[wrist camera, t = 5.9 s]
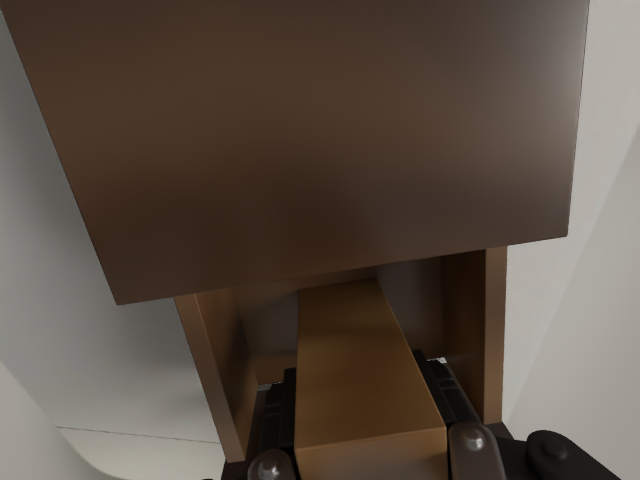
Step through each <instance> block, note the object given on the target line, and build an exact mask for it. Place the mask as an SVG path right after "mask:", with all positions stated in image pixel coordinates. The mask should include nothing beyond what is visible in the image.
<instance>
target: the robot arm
mask: <svg viewBox="0 0 640 480" xmlns="http://www.w3.org/2000/svg"><path fill="white" fill-rule="evenodd" d="M411 352H412V354H413V357H414V359H415V361H416V363H417V365H418V367H419V370H420V372H421V374H422V376H423V378H424V380H425V383H426V385H427V387H428V389H429V391H430V393H431V396H432V398H433V400H434V402H435V404H436V406H437V409H438V411H439V413H440V415H441V417H442V419H443V422H444V424H445V426H446V433H447V460H448V480H621V479H620V478H618V477H617V476H616V475H615V474H613V473H612V472H611V471H609V470H608V469H607V468H606V467H604V466H603V465H602V464H600V463H599V462H598V461H597V460H595V459H594V458H593V457H591V456H590V455H589V454H588V453H586V452H585V451H584V450H582V449H581V448H580V447H578V446H577V445H576V444H575V443H573V442H572V441H571V440H569V439H568V438H567V437H565V436H563V435H561V434H558V433H556V432H552V431H547V430H539V431H535V432H532V433H531V434H530V435H529V436H528V438H527V441H520V440H513V439H506V438H502V437H499V436H496V435H494V434H493V433H492V432H491V431H490V430H489V429H488V428H487V427H486V426H484V425H482V424H480V423H479V422H478V421H477V419H476V417H475V415H474V414H473V412H472V410H471V409H470V407H469V405H468V403H467V402H466V400H465V398H464V396H463V395H462V393H461V391H460V389H458V386H457V384H456V382H455V381H454V380H453V377H452V375H451V374H450V372H449V370H448V368H447V367H445V366H444V365H443V364H442V363H440V362H439V361H438V360H432V361H427V360H426V358H425V356H424V354H423V352H422V350H421V349H414V350H411ZM296 368H297V367H293V368H287V369H284V377H283V383H278V384H273V385H272V386H271V388H270V389H269V391H268V393H267V394H266V399H265V408H264V414H263V421H262V429H261V436H260V443H259V450H258V456H257V457H256V458H255V459H254V460H253V461H252V463H251V464H250V466H249V469H248V471H247V472H246V473H245V474H244V475H242V476H241V477H239V478H237V479H235V480H301V478H300V474H299V470H298V465H297V461H296V457H295V453H294V434H295V401H296ZM203 480H213V479H203Z"/></svg>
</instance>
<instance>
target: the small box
mask: <svg viewBox="0 0 640 480" xmlns="http://www.w3.org/2000/svg"><path fill="white" fill-rule="evenodd" d="M294 453H295V457H296V461H297V465H298V470H299V474H300V478H301V480H448V460H447V433H446V426H445V424H444V422H443V419H442V417H441V415H440V413H439V411H438V409H437V406H436V404H435V402H434V400H433V398H432V396H431V393H430V391H429V389H428V387H427V385H426V383H425V380H424V378H423V376H422V374H421V372H420V370H419V367H418V365H417V363H416V361H415V359H414V357H413V354H412V352H411V350H410V348H409V346H408V344H407V341H406V339H405V337H404V335H403V333H402V331H401V328H400V326H399V324H398V322H397V320H396V318H395V315H394V313H393V311H392V309H391V307H390V305H389V302H388V300H387V298H386V296H385V294H384V292H383V289H382V287H381V285H380V283H379V281H378V279H377V278H374V279H367V280H361V281H354V282H348V283H342V284H335V285H329V286H322V287H316V288H309V289H303V290H299V303H298V336H297V368H296V401H295V434H294Z"/></svg>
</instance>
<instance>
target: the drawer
mask: <svg viewBox="0 0 640 480" xmlns="http://www.w3.org/2000/svg"><path fill="white" fill-rule="evenodd" d="M506 272H507V246H502V247H496V248H489V249H483V250H476V251H470V252H463V253H457V254H450V255H444V256H437V257H431V258H424V259H418V260H411V261H405V262H398V263H392V264H385V265H379V266H372V267H365V268H359V269H352V270H346V271H339V272H333V273H326V274H320V275H313V276H307V277H300V278H294V279H287V280H281V281H274V282H268V283H261V284H255V285H248V286H242V287H235V288H229V289H222V290H216V291H209V292H203V293H196V294H190V295H183V296H177V297H173V298H174V301H175V304H176V307H177V310H178V313H179V316H180V319H181V322H182V325H183V328H184V332H185V335H186V338H187V341H188V344H189V347H190V350H191V353H192V356H193V359H194V362H195V365H196V368H197V371H198V374H199V377H200V381H201V384H202V387H203V390H204V393H205V396H206V399H207V402H208V405H209V408H210V411H211V414H212V417H213V420H214V423H215V426H216V429H217V433H218V436H219V439H220V442H221V445H222V448H223V451H224V454H225V457H226V459H225V464H224V468H223V472H222V476H221V480H235V479H237V478H239V477H241V476H242V475H244V474H245V473H246V472H247V471H248V469H249V466H250V464H251V463H252V461H253V460H254V459H255V458H256V457H257V456H258V450H259V443H260V436H261V429H262V421H263V414H264V408H265V399H266V394H267V393H268V391H269V390H263V391H257V389H258V385H263V384H269V383H276V382H283V377H284V369H287V368H293V367H297V336H298V303H299V290H303V289H309V288H316V287H322V286H329V285H335V284H342V283H348V282H354V281H361V280H367V279H374V278H377V279H378V281H379V283H380V285H381V287H382V289H383V292H384V294H385V296H386V298H387V300H388V302H389V305H390V307H391V309H392V311H393V313H394V315H395V318H396V320H397V322H398V324H399V326H400V328H401V331H402V333H403V335H404V337H405V339H406V341H407V344H408V346H409V348H410V350H414V349H421V350H422V352H423V354H424V356H425V358H426V360H428V359H435V358H441V357H444V358H445V360H446V361H447V363H442V364H443V365H444V366H445V367H447V368H448V370H449V372H450V374H451V375H452V377H453V380H454V381H455V382H456V384H457V386H458V389H460V391H461V393H462V395H463V396H464V398H465V400H466V402H467V403H468V405H469V407H470V409H471V410H472V412H473V414H474V415H475V417H476V419H477V421H478V422H479V423H480V424H482V425H484V426H486V427H487V428H488V429H489V430H490V431H491V432H492V433H493V434H494V435H496V436H499V437H502V438H506V439H513V440H514V438H513V437H512V435H511V434H510V432H509V431H508V429H507V428H506V426H505V425H504V423H503V422H502V392H503V362H504V332H505V302H506Z"/></svg>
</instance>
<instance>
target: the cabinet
mask: <svg viewBox="0 0 640 480" xmlns="http://www.w3.org/2000/svg"><path fill="white" fill-rule="evenodd" d="M589 1H590V0H0V8H1V11H2V13H3V16H4V18H5V21H6V23H7V26H8V29H9V31H10V34H11V36H12V39H13V41H14V44H15V46H16V49H17V52H18V54H19V57H20V59H21V62H22V64H23V67H24V69H25V72H26V75H27V77H28V80H29V82H30V85H31V87H32V90H33V92H34V95H35V98H36V100H37V103H38V105H39V108H40V110H41V113H42V115H43V118H44V121H45V123H46V126H47V128H48V131H49V133H50V136H51V138H52V141H53V144H54V146H55V149H56V151H57V154H58V156H59V159H60V161H61V164H62V167H63V169H64V172H65V174H66V177H67V179H68V182H69V184H70V187H71V190H72V192H73V195H74V197H75V200H76V202H77V205H78V207H79V210H80V213H81V215H82V218H83V220H84V223H85V225H86V228H87V230H88V233H89V236H90V238H91V241H92V243H93V246H94V248H95V251H96V253H97V256H98V259H99V261H100V264H101V266H102V269H103V271H104V274H105V276H106V279H107V282H108V284H109V287H110V289H111V292H112V294H113V297H114V299H115V302H116V304H117V305H125V304H131V303H138V302H144V301H151V300H157V299H164V298H170V297H177V296H183V295H190V294H196V293H203V292H209V291H216V290H222V289H229V288H235V287H242V286H248V285H255V284H261V283H268V282H274V281H281V280H287V279H294V278H300V277H307V276H313V275H320V274H326V273H333V272H339V271H346V270H352V269H359V268H365V267H372V266H379V265H385V264H392V263H398V262H405V261H411V260H418V259H424V258H431V257H437V256H444V255H450V254H457V253H463V252H470V251H476V250H483V249H489V248H496V247H502V246H509V245H515V244H522V243H528V242H535V241H541V240H548V239H554V238H561V237H566V236H567V235H568V224H569V213H570V203H571V192H572V181H573V171H574V160H575V149H576V139H577V128H578V118H579V107H580V96H581V86H582V75H583V64H584V54H585V43H586V32H587V22H588V11H589Z"/></svg>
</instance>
